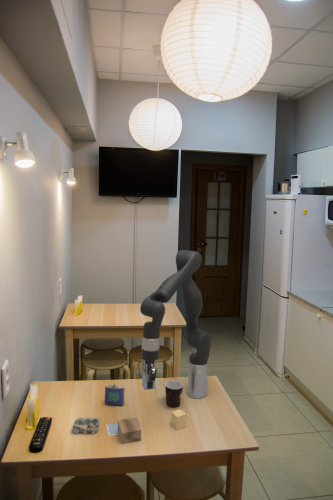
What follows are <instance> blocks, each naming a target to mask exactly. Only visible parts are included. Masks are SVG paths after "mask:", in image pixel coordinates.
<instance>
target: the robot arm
mask: <svg viewBox="0 0 333 500" xmlns="http://www.w3.org/2000/svg"><path fill="white" fill-rule="evenodd" d="M202 258H203V257H202V255H201V253H200V252H198V251H195V250H188V249H187V250H185V249H184V250H183V249H181V250H179V251H177V253H176V256H175V266H176V269H177V272H175V273H174V274H172V275H171V276H168V277H167V278H166V279H165V280H163V281H162V282H161V284H160V285H159V287H158V288H157V289H156V290H155V291H154V292H152V293H151V294H150V295H148V296H147V297H146V298H145V299H143V301H142V302H141V304H140V307H139V308H140V309H139V310H140V313H141V315H143V316H145V317H149V318H152V319H151V321H145V322H144V324H143V327H142V328H143V329H142V341H141V354H140V356H141V359H143V360H142V361H143V363H142V366H143V368H142V369H143V371H142V372H146V374H147V375H148V384H147V388H148V389H151V390H153V389H152V388H153V381H155V382H156V379H155V378H157V370H158V369H157V368H156V361H157V360H159V358H160V345H161V344H160V343H161V340H160V334H161V333H160V332H161V326H162V323H163V320H164V317H165V314H166V307H165V305H164V304H167V303H169V301H170V300H171V299H172V297H174V295H175V293H176V292H177V291H178V290H179V289H180V287H181V295H182V302H183V310H184V315H185V316H184V317H185V327H186V329H185V330H186V341H187V344H188V346H190V347H192V348H193V349H196V352H194V353H191V354H190V355H189V357H188V359H189V360H188V373H187V374H188V375H187V376H188V377H187V378H188V379H187V380H188V381H187V395H188V397H190V398H193V399H203V398H205V397H207V396H208V389H209V388H208V385H209V377H208V376H207V374H208V360H209V357H210V352H211V343H212V341H211V340H212V339H211V335H210V334H209V333H208V332H206V331H203V330H201V329H200V328H199V322H198V321H199V317H200V314H201V313H202V310H203V307H204V306H203V297H202V292H201V290H200V289H199V287H198V286H197V284H196V283H195V281H194V280H193V278H192V276H193V274H195V273H196V272H197V270H199V268H200V267H201V265H202V261H203V260H202ZM148 372H150V373H148Z"/></svg>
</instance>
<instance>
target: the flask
mask: <svg viewBox="0 0 333 500" xmlns="http://www.w3.org/2000/svg"><path fill="white" fill-rule="evenodd" d="M104 405H105V406H109V407H123V406H124V405H125V386H123V385H117V382H113V384H107V385H105V388H104Z"/></svg>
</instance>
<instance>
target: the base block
mask: <svg viewBox="0 0 333 500" xmlns="http://www.w3.org/2000/svg"><path fill="white" fill-rule="evenodd" d="M117 423H118V434H117V435H118V437H119V441H120V444H121V445H122V444H129V443H134V442H140V441H142V428H141V425H140V423H139V419H138V417H130V418H124V419H122V418H121V419H117Z"/></svg>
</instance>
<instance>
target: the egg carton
mask: <svg viewBox="0 0 333 500" xmlns="http://www.w3.org/2000/svg"><path fill="white" fill-rule="evenodd" d="M100 421H101V420H100V417H91V416H90V417H81V416H80V417H77V418H76V419H75V420H74V423H73V425H72V433H73V434H75V435H79V434H80V433H83V434H84V435H87V434H88V433H91V434H92V435H95V434H96V433H98V432H99V427H100ZM79 425H80V426H79ZM86 425H87V429H86V428H85V427H84V426H86ZM94 425H95V428H94Z"/></svg>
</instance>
